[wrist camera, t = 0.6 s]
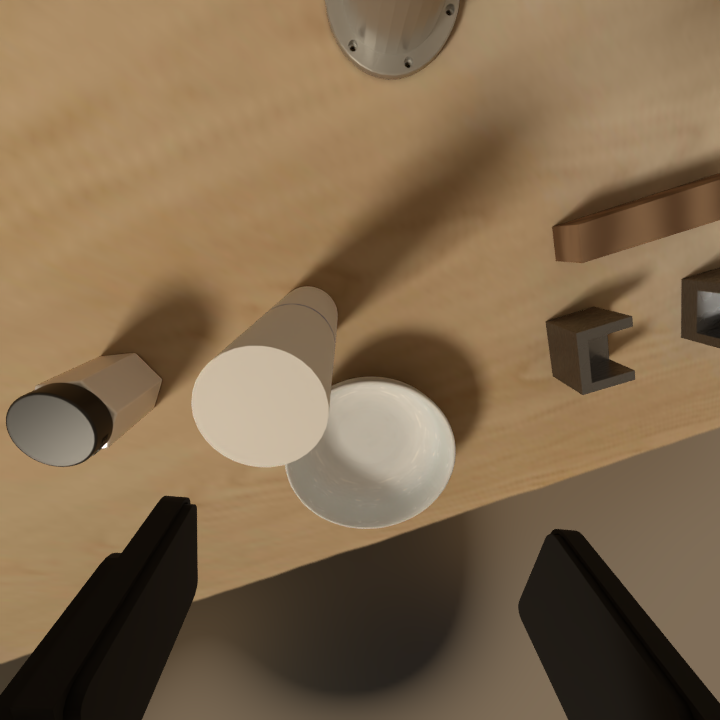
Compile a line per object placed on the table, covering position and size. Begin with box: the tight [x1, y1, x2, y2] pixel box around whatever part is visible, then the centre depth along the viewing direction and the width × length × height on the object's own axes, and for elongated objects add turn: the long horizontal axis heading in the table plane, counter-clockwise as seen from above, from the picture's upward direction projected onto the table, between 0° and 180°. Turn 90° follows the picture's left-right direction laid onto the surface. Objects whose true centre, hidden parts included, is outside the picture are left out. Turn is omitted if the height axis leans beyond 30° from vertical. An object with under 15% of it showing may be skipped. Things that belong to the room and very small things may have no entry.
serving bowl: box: [285, 377, 456, 529], centre depth 44 cm, size 21×21×7 cm
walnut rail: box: [552, 174, 720, 263], centre depth 37 cm, size 19×4×5 cm, turn 107°
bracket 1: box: [546, 307, 635, 395], centre depth 41 cm, size 6×8×6 cm
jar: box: [6, 353, 162, 467], centre depth 38 cm, size 9×8×12 cm
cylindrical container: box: [191, 286, 338, 467], centre depth 30 cm, size 7×7×25 cm
